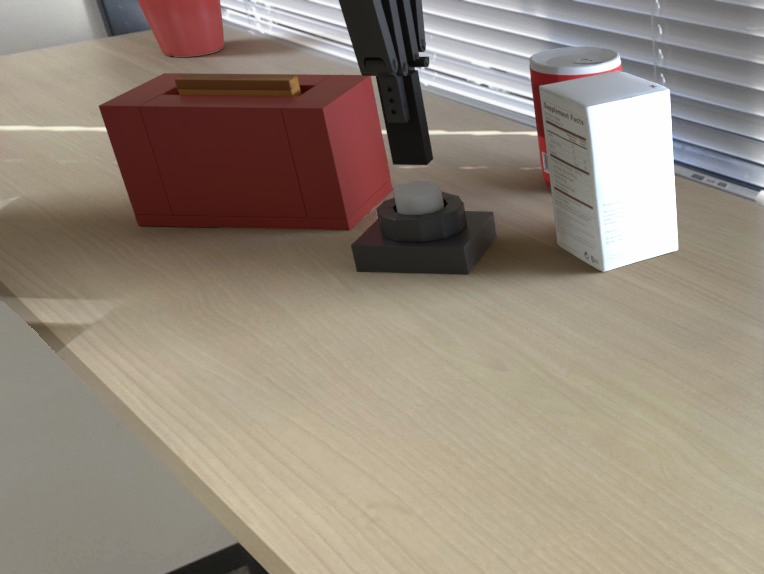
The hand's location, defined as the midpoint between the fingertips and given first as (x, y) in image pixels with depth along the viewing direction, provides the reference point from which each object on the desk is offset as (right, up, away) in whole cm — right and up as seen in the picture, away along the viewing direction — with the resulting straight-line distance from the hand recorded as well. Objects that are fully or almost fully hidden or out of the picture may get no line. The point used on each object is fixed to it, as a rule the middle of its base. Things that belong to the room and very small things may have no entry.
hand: (413, 161), depth 89 cm
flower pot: (-47, +36, +65) cm, 88 cm away
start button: (0, -3, +2) cm, 4 cm away
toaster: (-17, +1, +14) cm, 22 cm away
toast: (-17, +2, +14) cm, 22 cm away
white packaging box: (+15, -6, +5) cm, 17 cm away
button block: (0, -6, +4) cm, 7 cm away
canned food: (+11, +4, +18) cm, 21 cm away
